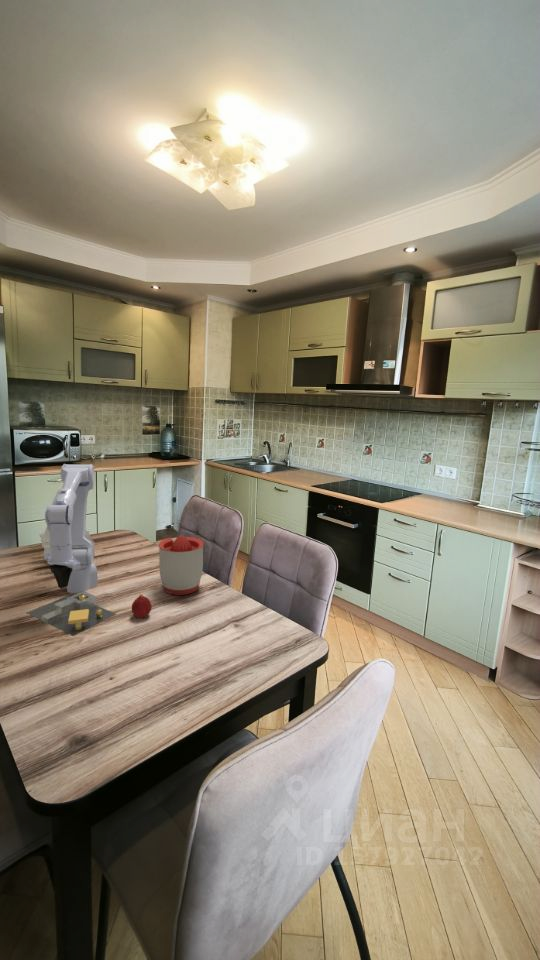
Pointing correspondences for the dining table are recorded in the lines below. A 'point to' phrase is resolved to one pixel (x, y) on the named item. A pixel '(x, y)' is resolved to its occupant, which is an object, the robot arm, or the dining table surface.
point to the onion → (141, 606)
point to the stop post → (99, 613)
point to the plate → (63, 622)
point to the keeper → (78, 618)
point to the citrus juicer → (181, 564)
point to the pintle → (82, 597)
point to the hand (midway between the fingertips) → (63, 587)
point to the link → (70, 607)
